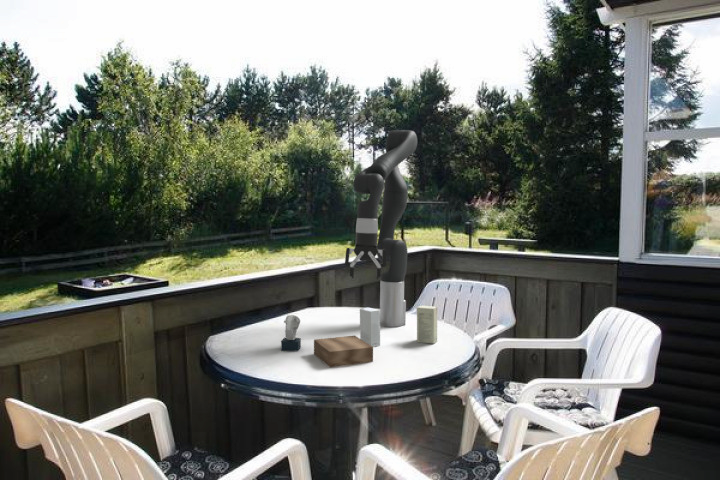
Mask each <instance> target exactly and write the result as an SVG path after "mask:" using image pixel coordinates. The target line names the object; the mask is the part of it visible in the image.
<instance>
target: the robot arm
mask: <svg viewBox="0 0 720 480" xmlns="http://www.w3.org/2000/svg"><path fill="white" fill-rule="evenodd" d="M417 146H418V136H417V134H416V132H415V131H414V130H409V129H396V130H395V129H393V130H390V131H389V132H388V134H387V136H386V142H385V152H384V153H382V154H381V155H380V156H378V157H377V158H376V159H375V160H374V161H373V163H372V164H371V165H370V166H367V167H366V168H364V169H363V170H361V171H360V172H359V173H357V174H356V175H355V176H354V179H353V182H352V185H353V190H354V191H355V192H356V193H357V194H361V195H369V196H368V198H367V199H366V200H362V201H359V202H358V203H357V213H356V214H357V215H356V216H357V217H356V226H355V245H354V248H350V247H346V249H345V256H344V257H345V258H344V265H345V266H348V267H349V277H351V279H354V278H355V265H356V264H357V263H358V261H361V262H365V261H366V262H372V261H373V263H374V264H375V266H376V275H375V276H376V280H379V278H380V284H379V285H380V287H379V288H380V289H379V290H380V292H379V310H380V326H383V327H387V328H388V327H389V328H391V327H392V328H398V327H402V326H405V325H406V319H407V317H406V315H407V313H406V312H407V307H406V306H407V300H405V277H406V274H407V266H408V256H409V255H408V254H409V253H408V247H407V244H406V242H405V241H404V240H402V239H394V238H395V229H396V225H397V224H398V222H399V220H400V219H401V217H402V216H403V214H404V212H405V211H406V208H407V203H408V192H409V190H408V185H407V184H406V181H405V179H404V177H403V174H402V173H401V171H400V168H399V165H400V164H401V163H402V162H403V161H405V160H406V159H407V158H408V157H410V156H411V155H412V154H414V152H415V151H416V149H417ZM382 195H383V197H382ZM381 197H382V212H381V219H380V220H381V221H380V227H379V224H378V221H379V220H378V217H379V216H378V215H379V214H378V213H379V210H378V209H379V205H380V200H381ZM352 253H354V254H355V258H354V259H353V260H352V261H350V255H352ZM378 260H379V261H380V262H381V263H380V262H379V261H378ZM388 263H389V267H388V269H387V270H386V271H383V272H382V268H384V267H387V264H388Z"/></svg>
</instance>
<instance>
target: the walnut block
mask: <svg viewBox="0 0 720 480" xmlns="http://www.w3.org/2000/svg"><path fill="white" fill-rule="evenodd" d="M313 355H314V356H315V357H317V358H318V359H319V360H320V361H321V362H322V363H324V365H326V366H328V367H329V368H337V367H343V366H351V365H359V364H367V363H372V362H373V363H374V347H372V346H371V345H369V344H368V343H366V342H364V341H363V340H361V339H360V337H358V336H357V335H348V336H347V335H346V336H336V337H326V338H316V339H314V340H313Z"/></svg>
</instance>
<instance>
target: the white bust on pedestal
mask: <svg viewBox="0 0 720 480" xmlns="http://www.w3.org/2000/svg"><path fill="white" fill-rule="evenodd" d="M283 324H285V330H284V332H285V333H284V334H285V337H283V338H282V339H281V341H280V342H281V343H280V349H281V351H283V352H299V351H300V349H301V347H302V346H301V344H302V342H301V341H302V340H301V337H296V336H297V332H298V331H297V330H298V329H299V326H300V325H301V319H300V317H298V316H297V315H294V314H291V315H289V314H288V315H286V317H285V320H283Z"/></svg>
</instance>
